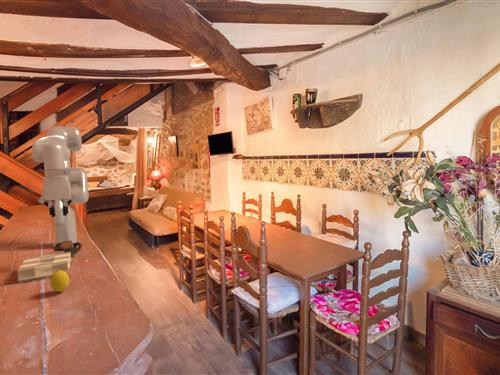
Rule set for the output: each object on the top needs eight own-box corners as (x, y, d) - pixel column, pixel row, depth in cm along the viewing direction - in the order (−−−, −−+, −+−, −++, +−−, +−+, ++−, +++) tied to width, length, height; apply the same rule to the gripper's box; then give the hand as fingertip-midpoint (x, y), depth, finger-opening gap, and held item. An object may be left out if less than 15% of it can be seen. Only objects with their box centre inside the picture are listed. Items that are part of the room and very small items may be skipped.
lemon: (66, 287, 107) (64, 265, 107) (72, 291, 104) (70, 269, 103) (48, 293, 103) (46, 270, 102) (54, 297, 100) (52, 274, 99)
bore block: (27, 269, 126) (26, 258, 126) (71, 262, 133) (70, 251, 133) (18, 283, 112) (17, 270, 111) (68, 274, 119) (67, 262, 119)
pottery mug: (54, 261, 137) (49, 245, 139) (60, 264, 145) (56, 248, 147) (82, 251, 141) (77, 235, 143) (87, 254, 150) (82, 239, 152)
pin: (55, 225, 130) (52, 197, 128) (66, 224, 131) (63, 197, 130) (54, 227, 126) (51, 198, 125) (65, 225, 128) (63, 197, 127)
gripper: (78, 172, 134) (81, 212, 136) (32, 174, 126) (37, 217, 128) (78, 172, 128) (81, 215, 129) (30, 174, 120) (34, 219, 121)
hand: (59, 215), depth 128 cm, fingers closed on pin, 4 cm apart
